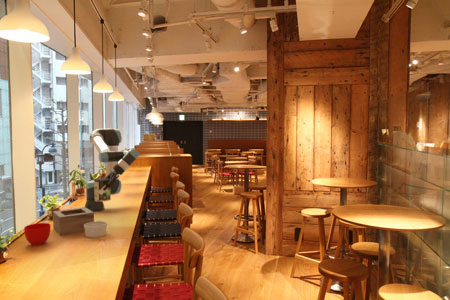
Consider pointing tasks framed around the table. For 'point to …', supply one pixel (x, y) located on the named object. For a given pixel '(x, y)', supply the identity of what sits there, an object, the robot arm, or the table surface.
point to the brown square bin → (71, 220)
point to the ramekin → (95, 229)
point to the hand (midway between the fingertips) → (97, 192)
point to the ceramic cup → (37, 233)
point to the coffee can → (98, 186)
